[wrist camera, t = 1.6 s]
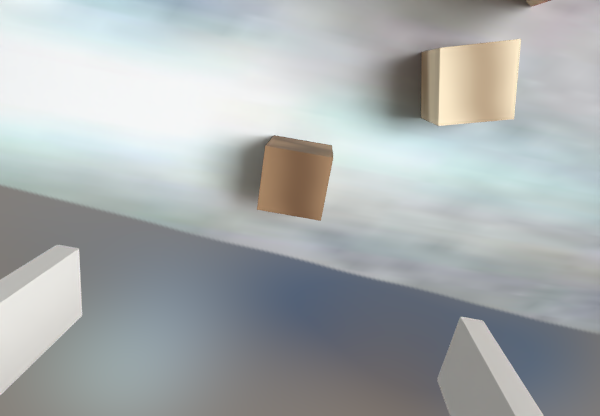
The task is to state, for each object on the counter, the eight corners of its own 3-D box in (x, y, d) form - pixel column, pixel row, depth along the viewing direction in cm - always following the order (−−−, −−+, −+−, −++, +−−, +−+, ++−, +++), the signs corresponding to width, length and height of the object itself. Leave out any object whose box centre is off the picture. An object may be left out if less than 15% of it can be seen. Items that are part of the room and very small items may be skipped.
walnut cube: (266, 190, 33) (256, 209, 29) (274, 135, 32) (265, 145, 27) (321, 200, 33) (320, 220, 29) (331, 145, 32) (333, 157, 27)
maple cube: (420, 117, 30) (438, 125, 26) (421, 52, 29) (440, 48, 24) (484, 112, 30) (513, 118, 25) (488, 44, 28) (521, 38, 24)
